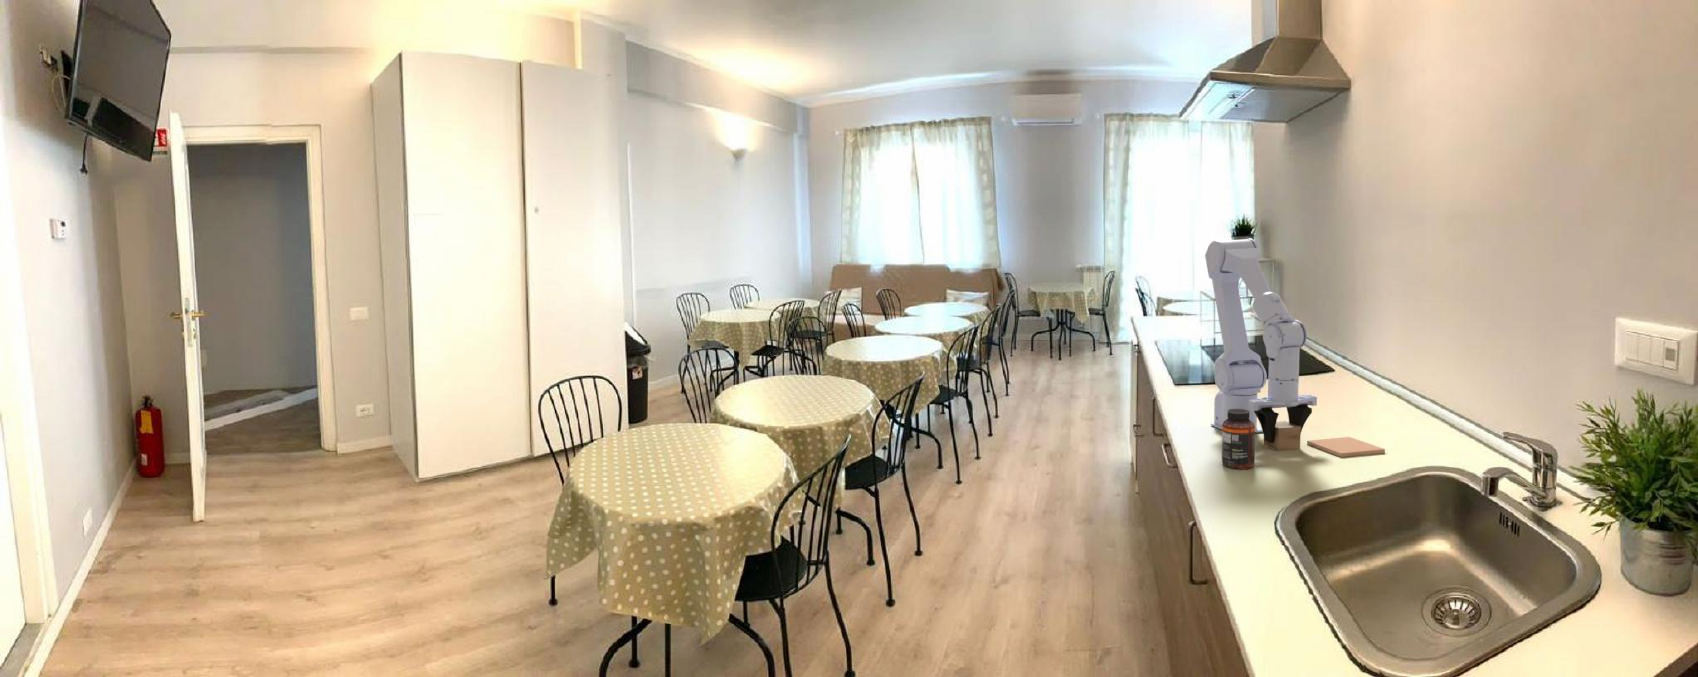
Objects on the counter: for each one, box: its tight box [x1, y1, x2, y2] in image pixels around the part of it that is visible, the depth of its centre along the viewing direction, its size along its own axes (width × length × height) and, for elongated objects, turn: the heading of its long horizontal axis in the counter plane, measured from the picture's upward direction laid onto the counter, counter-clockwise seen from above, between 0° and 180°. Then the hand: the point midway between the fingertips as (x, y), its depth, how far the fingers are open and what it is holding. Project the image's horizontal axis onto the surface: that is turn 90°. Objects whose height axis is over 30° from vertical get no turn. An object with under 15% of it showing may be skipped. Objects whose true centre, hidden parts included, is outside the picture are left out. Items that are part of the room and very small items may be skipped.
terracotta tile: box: [1306, 436, 1386, 458], centre depth 175 cm, size 10×10×1 cm
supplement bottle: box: [1221, 409, 1256, 470], centre depth 167 cm, size 6×6×11 cm
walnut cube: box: [1263, 420, 1302, 452], centre depth 178 cm, size 5×5×5 cm
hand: (1281, 440), depth 178 cm, fingers open, 5 cm apart
